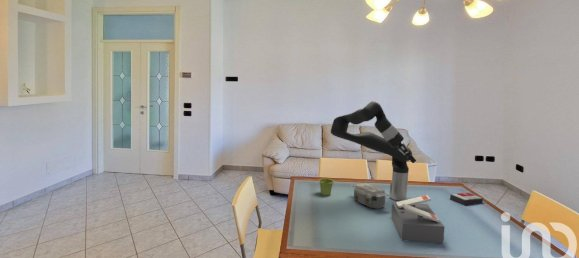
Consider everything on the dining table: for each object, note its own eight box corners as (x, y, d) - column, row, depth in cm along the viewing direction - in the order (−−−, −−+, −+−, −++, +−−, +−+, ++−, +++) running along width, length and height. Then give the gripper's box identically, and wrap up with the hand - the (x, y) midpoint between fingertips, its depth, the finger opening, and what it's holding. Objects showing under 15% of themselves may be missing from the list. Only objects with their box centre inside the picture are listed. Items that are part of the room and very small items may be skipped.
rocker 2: (402, 205, 163) (403, 203, 163) (434, 217, 162) (435, 215, 161) (405, 209, 157) (405, 207, 157) (438, 222, 156) (439, 220, 156)
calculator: (483, 197, 207) (465, 199, 201) (482, 204, 207) (464, 206, 202) (468, 192, 217) (450, 193, 211) (467, 198, 218) (449, 199, 212)
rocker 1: (396, 203, 178) (396, 201, 178) (427, 196, 176) (427, 194, 176) (398, 208, 172) (398, 206, 172) (430, 200, 170) (430, 198, 170)
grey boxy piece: (375, 212, 187) (375, 194, 186) (347, 198, 213) (347, 182, 212) (392, 209, 191) (393, 192, 190) (363, 196, 217) (363, 181, 216)
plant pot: (334, 192, 219) (335, 179, 218) (331, 197, 211) (332, 183, 209) (320, 190, 222) (320, 178, 221) (316, 195, 214) (317, 181, 212)
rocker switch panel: (391, 216, 183) (392, 197, 182) (426, 218, 181) (427, 200, 179) (401, 240, 155) (403, 218, 154) (443, 243, 153) (445, 221, 152)
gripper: (384, 138, 180) (404, 162, 180) (387, 142, 166) (409, 167, 166) (396, 129, 179) (416, 153, 178) (400, 132, 165) (422, 158, 164)
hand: (412, 160), depth 172 cm, fingers open, 8 cm apart
